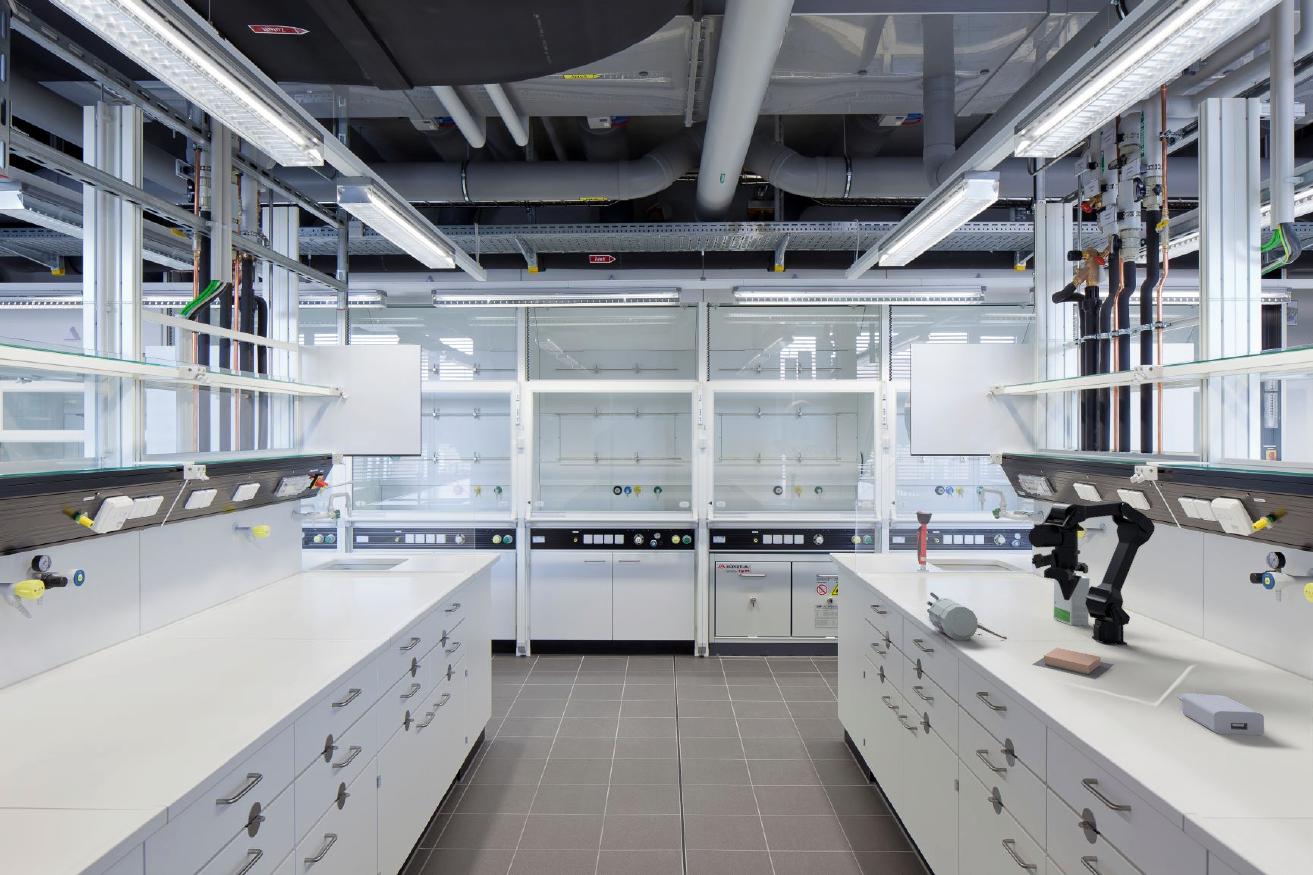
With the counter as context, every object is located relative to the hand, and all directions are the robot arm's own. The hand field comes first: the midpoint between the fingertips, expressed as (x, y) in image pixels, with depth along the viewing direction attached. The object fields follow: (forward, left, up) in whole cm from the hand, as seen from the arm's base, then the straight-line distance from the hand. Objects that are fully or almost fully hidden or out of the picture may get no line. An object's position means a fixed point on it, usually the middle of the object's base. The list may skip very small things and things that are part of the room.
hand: (1066, 599), depth 184 cm
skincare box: (-15, -25, -13) cm, 32 cm away
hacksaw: (+17, -11, -14) cm, 25 cm away
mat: (+9, +19, -13) cm, 25 cm away
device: (+30, -16, -13) cm, 36 cm away
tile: (+6, +16, -11) cm, 20 cm away
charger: (-2, +50, -14) cm, 51 cm away
